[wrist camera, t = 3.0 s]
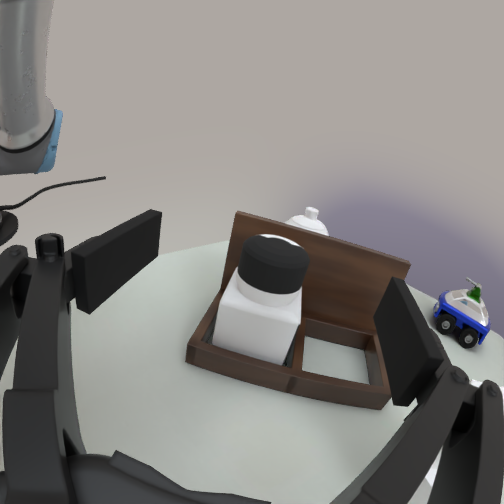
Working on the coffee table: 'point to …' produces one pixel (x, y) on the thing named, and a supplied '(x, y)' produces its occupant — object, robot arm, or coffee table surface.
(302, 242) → the rack
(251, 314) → the medicine bottle
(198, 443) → the coffee table surface
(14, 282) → the robot arm
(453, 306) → the toy car
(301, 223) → the spinning top
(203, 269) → the coffee table surface
